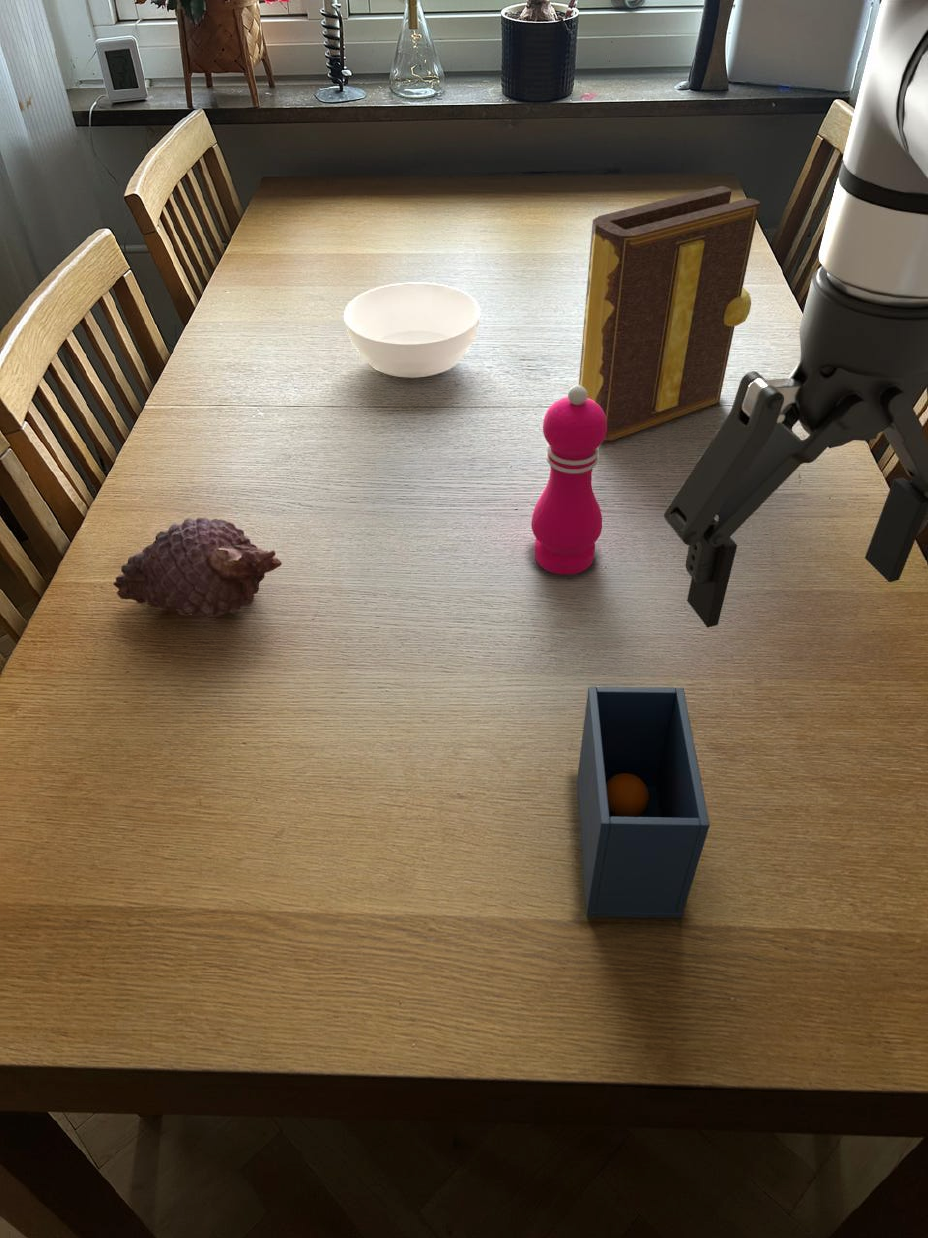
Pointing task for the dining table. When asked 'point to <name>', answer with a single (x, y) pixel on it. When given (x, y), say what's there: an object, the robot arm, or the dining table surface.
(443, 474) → the dining table surface
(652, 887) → the gray box
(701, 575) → the robot arm
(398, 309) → the bowl
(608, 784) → the orange ball
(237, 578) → the pine cone
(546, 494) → the pepper mill
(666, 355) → the book
